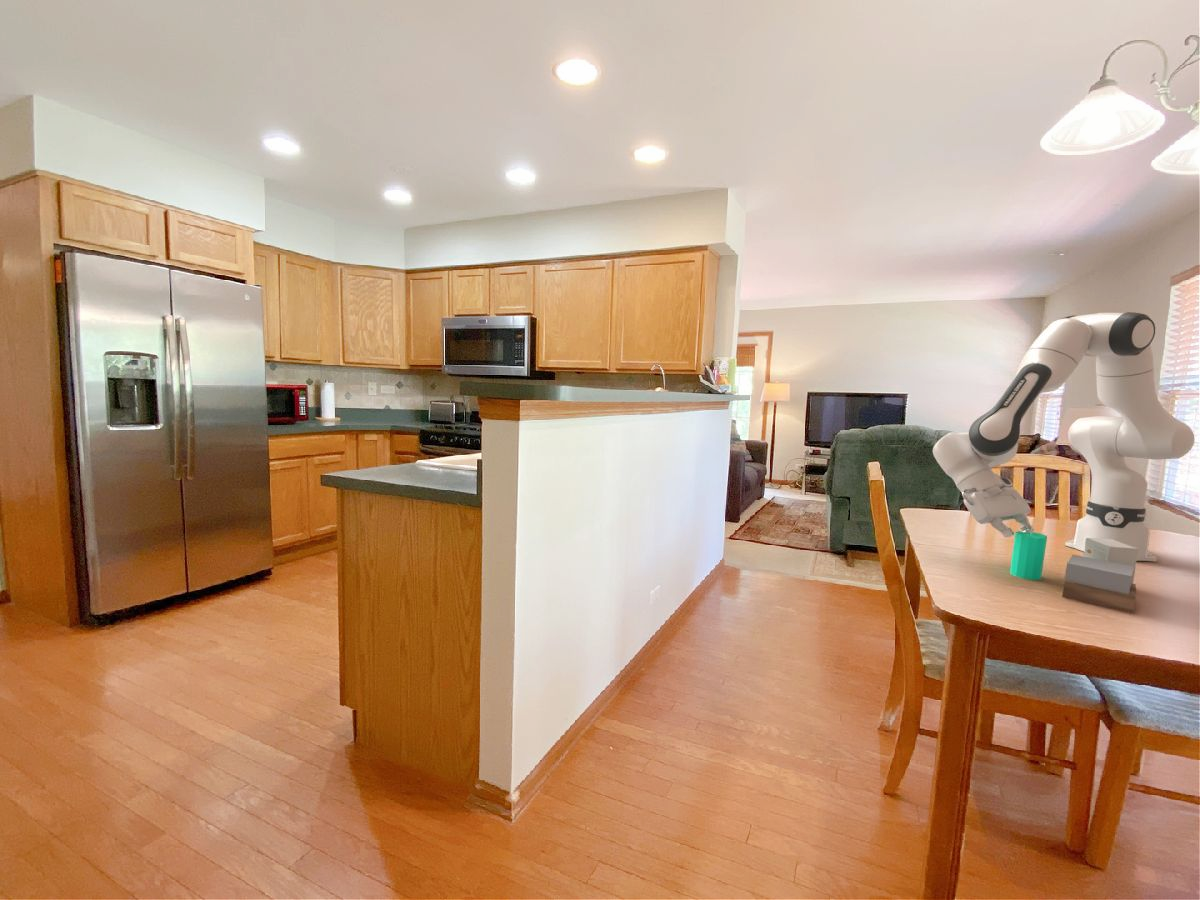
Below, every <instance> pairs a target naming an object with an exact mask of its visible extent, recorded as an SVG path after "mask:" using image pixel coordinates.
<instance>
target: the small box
mask: <svg viewBox="0 0 1200 900" xmlns="http://www.w3.org/2000/svg"><path fill="white" fill-rule="evenodd" d="M1137 553H1138V549H1137V548H1135V547H1132V546H1129V545H1126V544H1123V543H1120V542H1118V541H1115V540H1111V539H1099V538H1086V542H1085V549H1084V551H1083V557H1088V558H1094V559H1099V560H1104V561H1109V562H1114V563H1120V564H1125V565H1130V566H1134V570H1133V576H1132V584H1134V579H1135V574H1136V567H1137V561H1136V560H1137Z"/></svg>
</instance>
